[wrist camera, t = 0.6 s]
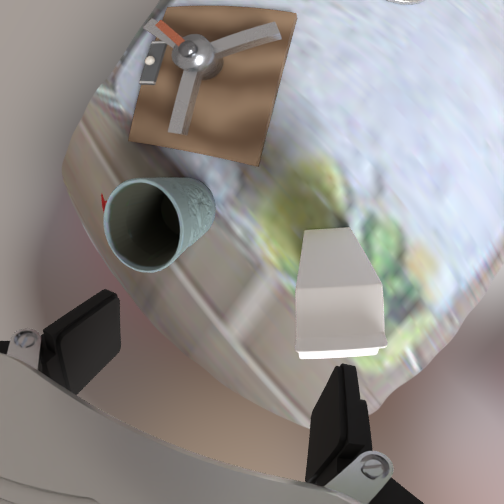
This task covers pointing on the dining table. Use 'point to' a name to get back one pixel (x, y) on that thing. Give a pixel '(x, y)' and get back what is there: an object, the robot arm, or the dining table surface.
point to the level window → (152, 70)
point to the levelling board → (218, 86)
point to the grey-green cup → (156, 220)
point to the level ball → (149, 60)
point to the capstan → (203, 61)
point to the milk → (337, 298)
